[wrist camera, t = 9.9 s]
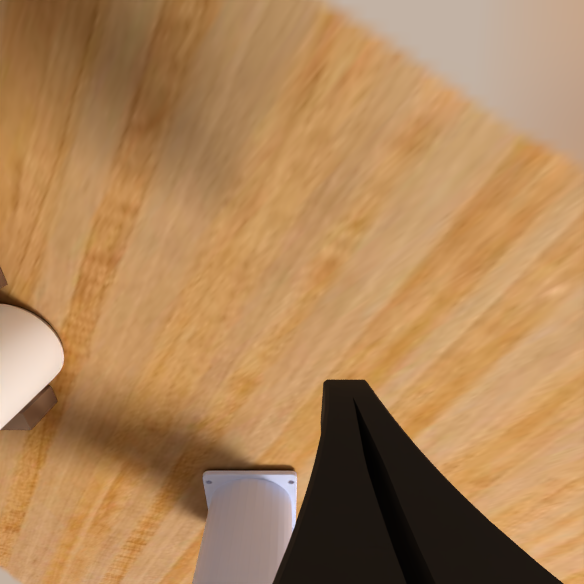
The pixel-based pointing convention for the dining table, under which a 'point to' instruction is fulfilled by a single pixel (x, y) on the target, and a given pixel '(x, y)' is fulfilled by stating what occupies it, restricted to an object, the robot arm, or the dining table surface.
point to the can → (25, 358)
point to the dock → (31, 402)
